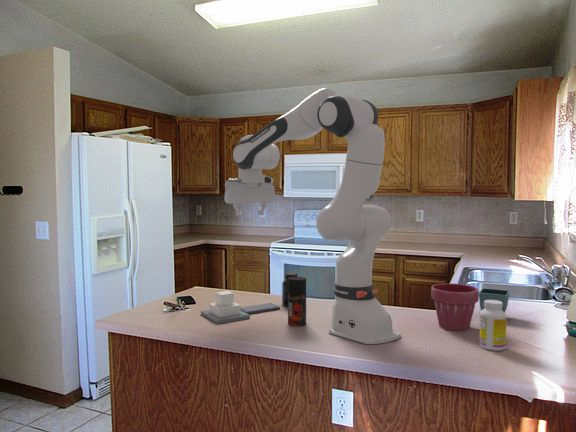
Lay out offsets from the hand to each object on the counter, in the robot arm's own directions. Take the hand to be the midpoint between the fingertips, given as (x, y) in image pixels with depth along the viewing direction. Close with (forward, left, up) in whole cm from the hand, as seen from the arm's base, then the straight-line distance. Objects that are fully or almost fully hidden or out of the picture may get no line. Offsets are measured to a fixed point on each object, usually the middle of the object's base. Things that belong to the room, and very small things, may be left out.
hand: (250, 215), depth 174 cm
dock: (-11, +16, -34) cm, 39 cm away
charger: (-11, +16, -33) cm, 38 cm away
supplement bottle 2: (-80, -33, -34) cm, 93 cm away
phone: (-10, +2, -34) cm, 36 cm away
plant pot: (-62, -40, -34) cm, 81 cm away
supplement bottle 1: (-10, -12, -34) cm, 38 cm away
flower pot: (-62, -61, -34) cm, 94 cm away
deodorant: (-32, 0, -34) cm, 47 cm away
